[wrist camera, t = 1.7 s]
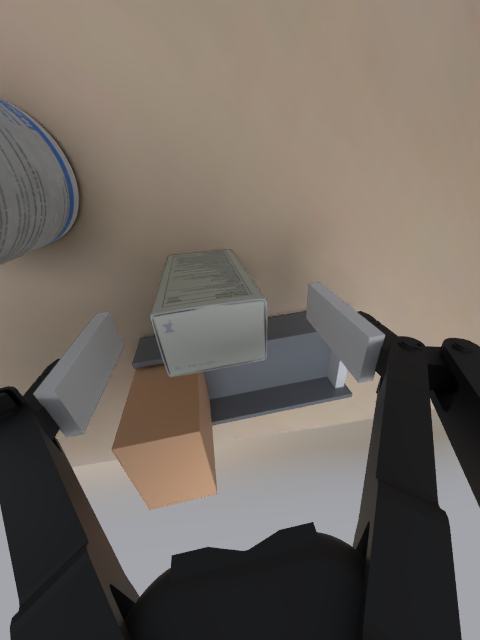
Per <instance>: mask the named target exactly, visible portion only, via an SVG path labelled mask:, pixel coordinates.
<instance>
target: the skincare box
mask: <svg viewBox="0 0 480 640" xmlns="http://www.w3.org/2000/svg"><path fill="white" fill-rule="evenodd" d="M150 318H151V321H152V325H153V329H154V333H155V336H156V340H157V343H158V346H159V350H160V353H161V357H162V359H163V362H164V365H165V368H166V371H167V374H168V376H170V377H174V376H181V375H187V374H193V373H199V372H204V371H210V370H216V369H221V368H227V367H232V366H237V365H242V364H247V363H252V362H257V361H263V360H265V359H266V358H267V300H266V299H265V297H264V296H263V295H262V293H261V292H260V290H259V289H258V288H257V286H256V285H255V284H254V282H253V281H252V279H251V278H250V276H249V275H248V274H247V272H246V271H245V269H244V268H243V266H242V265H241V264H240V262H239V261H238V259H237V258H236V256H235V255H234V254H233V252H232V251H231V250H216V251H206V252H197V253H187V254H179V255H172V256H168V259H167V262H166V265H165V269H164V272H163V275H162V278H161V282H160V285H159V288H158V291H157V295H156V298H155V301H154V304H153V308H152V311H151V314H150Z"/></svg>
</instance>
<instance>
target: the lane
mask: <svg viewBox="0 0 480 640" xmlns="http://www.w3.org/2000/svg"><path fill="white" fill-rule="evenodd" d="M306 313H307V311H305V312H299V313H293V314H287V315H281V316H275V317H269V318H267V358H266V359H265V360H263V361H257V362H252V363H247V364H242V365H237V366H232V367H227V368H221V369H216V370H210V371H204V375H205V379H206V384H207V388H208V393H209V398H210V408H211V421H212V425H217V424H222V423H227V422H232V421H236V420H241V419H246V418H251V417H256V416H261V415H266V414H270V413H275V412H280V411H285V410H290V409H295V408H300V407H304V406H309V405H314V404H319V403H324V402H329V401H333V400H338V399H343V398H348V397H352V393H351V391H350V390H349V389H348V387H347V386H346V385H345V378H346V373H347V368H346V367H345V366H344V364H343V363H342V362H341V361H340V359H339V358H338V357H337V356H336V354H335V353H334V352H333V351H332V350H331V348H330V347H329V346H328V345H327V343H326V342H325V341H324V340H323V338H322V337H321V336H320V335H319V333H318V332H317V331H316V330H315V329H314V327H313V326H312V325H311V324H310V322H309V321H308V320H307V319H306ZM163 363H164V362H163V359H162V357H161V353H160V350H159V346H158V343H157V340H156V336H152V337H145V338H141V339H140V342H139V345H138V348H137V351H136V354H135V357H134V360H133V363H132V365H133V367H134V369H135V368H140V367H146V366H152V365H157V364H163Z"/></svg>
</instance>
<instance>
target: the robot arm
mask: <svg viewBox="0 0 480 640" xmlns="http://www.w3.org/2000/svg"><path fill="white" fill-rule="evenodd" d="M306 319H307V320H308V321H309V322H310V324H311V325H312V326H313V327H314V329H315V330H316V331H317V332H318V333H319V335H320V336H321V337H322V338H323V340H324V341H325V342H326V343H327V345H328V346H329V347H330V348H331V350H332V351H333V352H334V353H335V354H336V356H337V357H338V358H339V359H340V361H341V362H342V363H343V364H344V366H345V367H346V368H347V369H348V370H349V372H350V373H351V374H352V375H353V377H354V378H355V379H356V380H357V382H358V383H361V382H366V381H372V380H373V378H374V374H375V371H376V372H377V373H378V374H379V375H380V376H381V378H380V381H379V384H378V388H377V391H376V393H378V394H377V400H376V407H375V414H374V421H373V428H372V434H371V441H370V447H369V454H368V460H367V467H366V474H365V480H364V488H363V494H362V501H361V507H360V514H359V520H358V525H357V529H356V533H355V538H354V543H353V547H352V546H350V545H349V544H347V543H345V542H344V541H342V540H340V539H338V538H335V537H333V536H331V535H327V534H323V533H318V532H316V529H315V526H314V524H313V522H311V523H307V524H303V525H299V526H295V527H291V528H286V529H282V530H279V531H277V532H276V533H274V534H273V535H271V536H270V537H268V538H266V539H265V540H263V541H262V542H260V543H259V544H257V545H255V546H254V547H252V548H251V549H249V550H247V551H238V550H229V549H220V548H212V547H206V548H202V549H198V550H193V551H189V552H185V553H181V554H176V555H172V561H171V568H170V569H168V570H167V571H165V572H164V573H163V574H162V575H160V576H159V577H158V578H157V579H156V580H155V581H154V582H153V583H152V584H151V585H150V586H149V587H148V588H147V589H146V590H145V592H144V593H143V594H142V595H141V596H140V597H139V595H138V594H137V592H136V590H135V589H134V587H133V586H132V584H131V583H130V581H129V580H128V578H127V577H126V575H125V574H124V571H123V569H122V567H121V565H120V563H119V561H118V559H117V557H116V556H115V553H114V551H113V549H112V547H111V545H110V543H109V541H108V539H107V537H106V535H105V533H104V531H103V529H102V527H101V525H100V524H99V521H98V519H97V518H96V515H95V513H94V511H93V509H92V507H91V505H90V503H89V501H88V499H87V498H86V495H85V494H84V491H83V490H82V487H81V485H80V483H79V482H78V480H77V477H76V475H75V474H74V471H73V469H72V467H71V465H70V463H69V461H68V459H67V457H66V456H65V454H64V452H63V450H62V448H61V446H60V444H59V442H58V440H57V439H56V438H55V436H56V434H57V432H58V431H59V429H60V430H61V431H62V433H63V434H64V435H65V437H69V436H74V435H80V434H84V432H85V430H86V428H87V426H88V423H89V421H90V419H91V417H92V415H93V413H94V410H95V408H96V406H97V404H98V402H99V400H100V397H101V395H102V393H103V391H104V389H105V386H106V384H107V382H108V380H109V378H110V376H111V373H112V371H113V369H114V367H115V365H116V362H117V360H118V358H119V356H120V354H121V352H122V349H123V347H124V346H123V344H122V341H121V339H120V337H119V334H118V332H117V329H116V327H115V325H114V322H113V320H112V317H111V315H110V313H109V312H104V313H96V315H95V316H94V317H93V319H92V320H91V321H90V322H89V324H88V325H87V326H86V327H85V329H84V330H83V331H82V333H81V334H80V335H79V336H78V338H77V339H76V340H75V341H74V343H73V344H72V345H71V346H70V348H69V349H68V350H67V352H66V353H65V354H64V355H63V357H62V358H61V359H57V360H56V361H54V362H53V363H52V364H50V365H49V366H48V367H47V368H46V369H45V370H44V371H43V373H42V374H41V376H39V377H38V379H37V380H36V382H34V384H33V385H32V386H31V387H30V388H29V390H28V391H27V392H26V393H25V394H24V396H22V395H21V394H20V393H19V391H18V390H17V389H16V388H15V387H9V386H8V387H4V388H0V505H1V510H2V515H3V521H4V526H5V531H6V536H7V541H8V546H9V551H10V556H11V561H12V566H13V572H14V577H15V581H16V587H17V592H18V597H19V605H20V607H19V611H18V613H17V614H15V616H14V617H13V618H12V621H11V625H10V635H11V640H462V639H461V631H460V630H461V629H460V620H459V610H458V601H457V591H456V581H455V572H454V562H453V552H452V543H451V533H450V525H449V520H448V517H447V515H446V512H445V511H444V510H442V509H440V507H439V505H438V497H437V484H436V470H435V458H434V444H433V431H432V419H431V405H430V398H431V400H432V403H433V405H434V407H435V409H436V412H437V414H438V416H439V418H440V420H441V422H442V425H443V427H444V429H445V431H446V434H447V436H448V438H449V440H450V442H451V445H452V447H453V449H454V451H455V454H456V456H457V458H458V460H459V463H460V465H461V467H462V469H463V471H464V474H465V476H466V478H467V480H468V482H469V485H470V487H471V489H472V491H473V494H474V496H475V498H476V500H477V502H478V505H479V506H480V347H479V346H478V345H476V344H474V343H472V342H471V341H468V340H465V339H459V338H448V339H445V340H444V341H443V344H442V346H441V347H429V346H425V345H424V344H423V343H422V342H420V341H418V340H416V339H414V338H410V337H404V336H399V337H398V336H397V335H396V334H394V333H393V332H392V331H390V330H389V329H388V328H386V327H385V326H384V325H381V323H380V322H379V321H376V319H375V318H373V317H372V316H371V315H369V314H366V313H364V312H362V311H359V312H356V311H355V310H354V309H353V308H351V307H350V306H349V305H348V304H346V303H345V302H344V301H343V300H341V299H340V298H339V297H338V296H336V295H335V294H334V293H333V292H331V291H330V290H329V289H328V288H326V287H325V286H324V285H323V284H321V283H320V282H315V283H309V284H308V299H307V313H306Z"/></svg>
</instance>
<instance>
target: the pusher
mask: <svg viewBox="0 0 480 640" xmlns="http://www.w3.org/2000/svg"><path fill="white" fill-rule="evenodd" d="M112 451H113V453H114V454H115V456H116V458H117V459H118V461H119V462H120V464H121V466H122V467H123V468H124V470H125V472H126V473H127V475H128V477H129V478H130V480H131V481H132V483H133V484H134V486H135V488H136V489H137V491H138V492H139V494H140V496H141V497H142V499H143V500H144V502H145V504H146V505H147V507H148V508H149V510H151V509H155V508H160V507H163V506H168V505H172V504H176V503H181V502H185V501H189V500H193V499H197V498H202V497H206V496H210V495H214V494H217V486H216V473H215V461H214V460H215V459H214V446H213V433H212V421H211V408H210V398H209V393H208V388H207V384H206V379H205V375H204V372H199V373H193V374H187V375H181V376H174V377H170V376H168V374H167V371H166V368H165V365H164V363H163V364H157V365H152V366H146V367H140V368H136V372H135V375H134V378H133V381H132V385H131V388H130V391H129V394H128V398H127V401H126V404H125V407H124V411H123V414H122V417H121V421H120V424H119V427H118V430H117V434H116V437H115V440H114V443H113V447H112Z"/></svg>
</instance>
